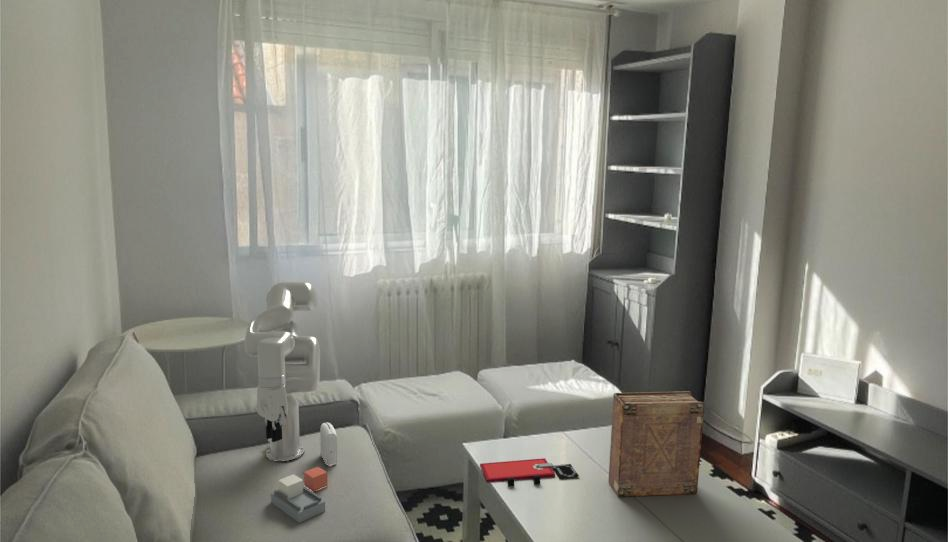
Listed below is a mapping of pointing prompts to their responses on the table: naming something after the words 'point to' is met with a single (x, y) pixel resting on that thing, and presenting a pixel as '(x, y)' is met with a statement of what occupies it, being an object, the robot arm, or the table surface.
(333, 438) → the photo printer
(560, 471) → the red board with handle
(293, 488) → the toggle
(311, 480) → the red cube
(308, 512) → the grey tray
